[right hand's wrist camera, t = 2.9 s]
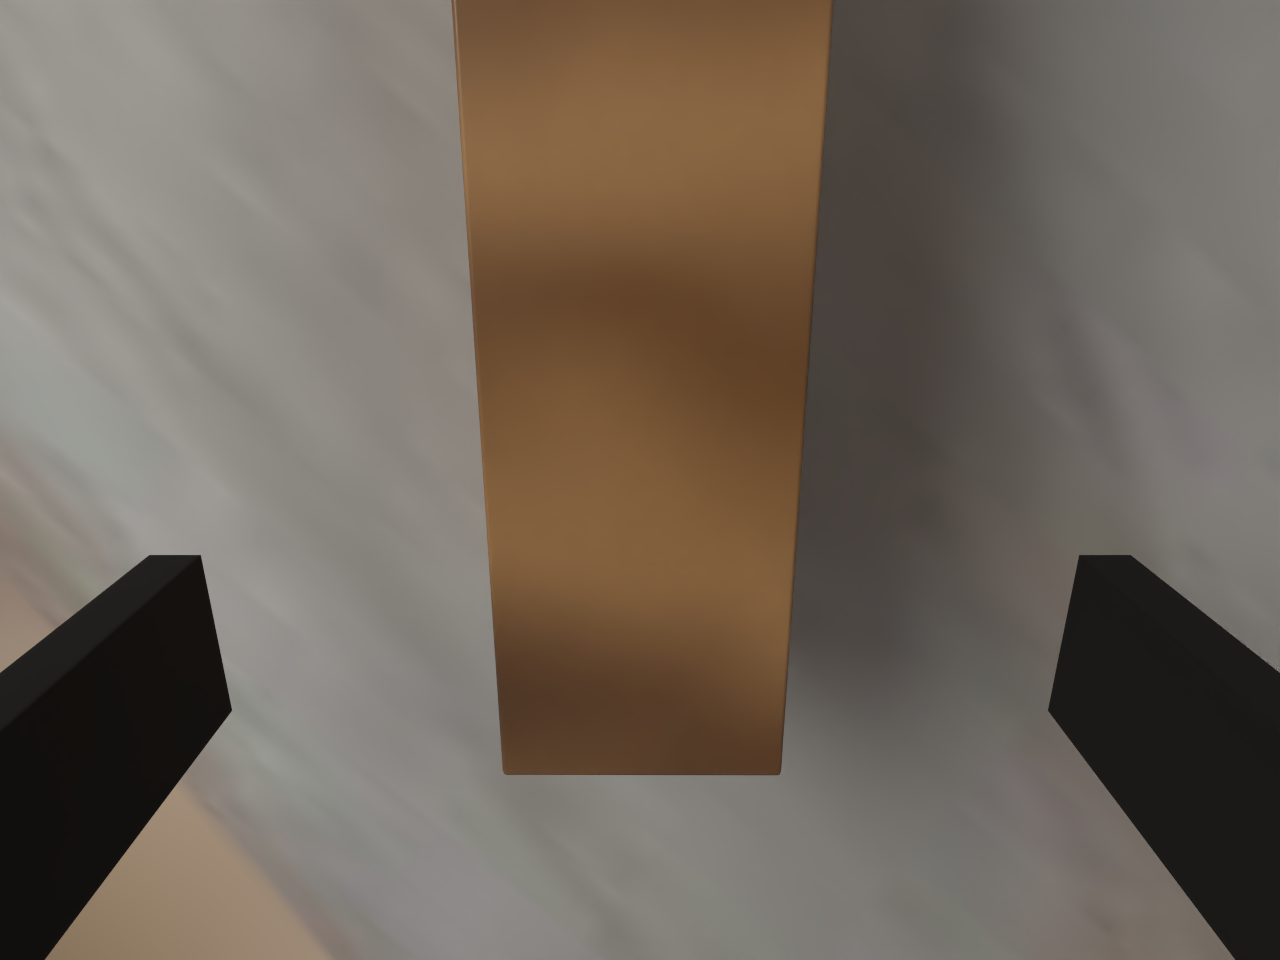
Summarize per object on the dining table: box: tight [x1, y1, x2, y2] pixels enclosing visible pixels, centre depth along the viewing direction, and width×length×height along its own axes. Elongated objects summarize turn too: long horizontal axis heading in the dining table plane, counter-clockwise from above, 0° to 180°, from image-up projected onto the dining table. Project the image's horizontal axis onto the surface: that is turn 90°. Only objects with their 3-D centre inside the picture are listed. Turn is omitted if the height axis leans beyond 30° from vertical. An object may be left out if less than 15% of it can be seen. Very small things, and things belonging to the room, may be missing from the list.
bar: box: [452, 0, 834, 775], centre depth 16 cm, size 24×5×8 cm, turn 0°
